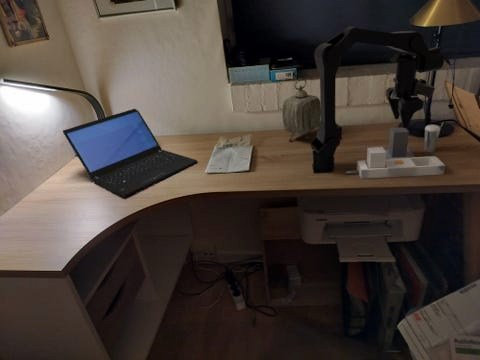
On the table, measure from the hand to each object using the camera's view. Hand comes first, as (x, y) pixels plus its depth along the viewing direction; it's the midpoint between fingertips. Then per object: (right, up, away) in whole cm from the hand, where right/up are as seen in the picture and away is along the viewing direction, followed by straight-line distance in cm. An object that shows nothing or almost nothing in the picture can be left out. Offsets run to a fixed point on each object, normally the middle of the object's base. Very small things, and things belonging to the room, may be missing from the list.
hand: (400, 123), depth 110 cm
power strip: (-5, -16, -4) cm, 18 cm away
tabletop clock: (-27, -1, +31) cm, 41 cm away
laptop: (-95, -15, +23) cm, 99 cm away
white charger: (-10, -17, -4) cm, 20 cm away
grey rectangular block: (+1, -10, +5) cm, 11 cm away
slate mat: (+1, -10, +5) cm, 12 cm away
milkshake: (+13, -9, +6) cm, 17 cm away
